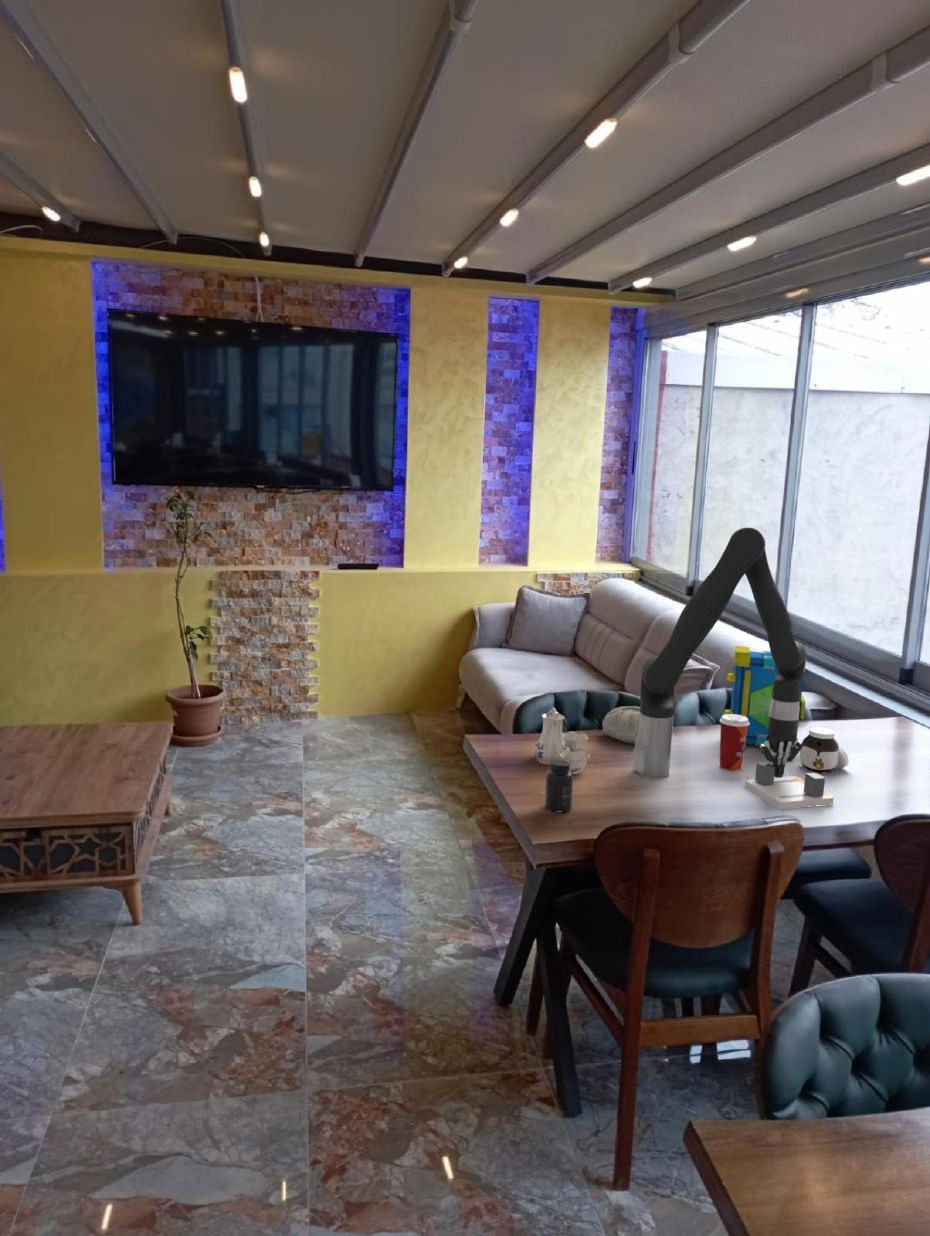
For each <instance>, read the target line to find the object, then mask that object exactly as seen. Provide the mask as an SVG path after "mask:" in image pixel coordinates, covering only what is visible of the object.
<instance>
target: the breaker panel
mask: <svg viewBox="0 0 930 1236" xmlns="http://www.w3.org/2000/svg"><path fill="white" fill-rule="evenodd" d="M804 783H805V780H804V779H802V778H800V777H799V776H796V775H795V776H794V775H793V776H783V777H782V778H776V777H774V783H773V785H762V784H761V783H759V782H758V781H756V780H755V778H752V779H745V780H744V788H745V789H747V790H748V791H750V792H752V793H754V794H755V795H756V796H758V797H760V798H761V799H762V800H764V801H766V802H767V803H769V804H770V805H772V806H773V807H775V808H776V809H778V810H779V811H780V810H789V809H792V810H793V809H799V808H798V807H804V808H809V807H808V806H815V807H817V806H816V805H827V806H831V805H830V804H833V805H834V799H835V797H833V796H832V795H830V794H828V793H826V792H825V791H824V793H823V796H820V797H812V796H811V795H809V794H807V793H805V792H804Z"/></svg>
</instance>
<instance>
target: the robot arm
mask: <svg viewBox="0 0 930 1236" xmlns="http://www.w3.org/2000/svg"><path fill="white" fill-rule="evenodd" d="M743 576H746V579H747V581H748V583H749V586H750V589H751V593H752V595H753V601H754V602H755V606H756V610H757V612H758V615H759V619H760V621H761V623H762V626H763V628H764V631H765V633H766V635H767V636H766V637H767V643H768V645H769V650H770V651H771V655H772V658H773V660H774V662H775V664H776V665H777V666H778V668H777V675H776V677H775V679H774V682H773V688H772V698H771V703H770V709H769V720H768V736H767V738H766V742H764V743H763V744H759V745H758V746H757V747H758V749H759V750H760V751H761V753H762V755H763V757H764V758H765V759H766V761H768V762H770V764H772V765H773V766H775V773H774V778H782V777H784V775H785V767H786V764H787V763H792V762H793V760H794V759H795V758H796V757H797V755H798V754H800V750H801V749H802V747H803V744H802V742H799V741H797V740H796V739H798V737H797V738H796V734H797V735H798V732H797V729H799V723H798V719H799V720H800V718H799V699H800V685H801V678H802V675H803V670H804V665H805V659H806V660H807V657H806V655H807V654H806V649H805V648H804V646H803V645H802V643H800V642H799V641H796V640H795V637H794V634H793V623H792V619H791V617H790V615H789V611H788V609H787V607H786V604H785V602H784V600H783V597H782V595H781V593H780V590H779V589H778V586H777V584H776V582H775V579H774V577H773V575H772V572H771V568H770V566H769V562H768V557H767V551H766V540H765V536H764V535H763V534H762V533H761V532H760V530H758V529H757V528H755V527H751V526H748V527H746V526H745V527H741V528H739V529H736V531H734V532H733V533H732V534H731V536H730V538H729V540H728V542H727V545H726V547H725V548H724V550H723V552H722V554H721V556H720V558H719V560H718V562H717V563H716V565H715V566H714V568H712V571H711V572H710V573H709V574H708V575H707V576H706V577H705V579H704V580H703V581H702V582H701V584H700V585H699V586H698V587H697V588H696V590H695V591H694V593H693V594H692V595H691V597H690V598H689V600H688V602H687V603H686V605H685V606H684V607H683V609H682V611H681V613H680V615H679V617H678V619H677V622H676V624H675V626H674V628H673V631H672V633H671V636H670V637H669V640H668V641H667V643H666V645H665V647H664V648H663V649H662V650H661V652H660V653H659V654H658V655H654V656H651V657H649V658H648V659H647V660H646V661H645V663H643V666H642V669H641V670H642V671H641V680H640V682H641V683H640V696H639V697H640V698H639V699H640V700H639V702H640V703H639V704H640V706H639V707H640V721H639V734H638V738H635V744H634V752H633V753H634V754H633V765H632V769H633V771H635V772H636V773H637V774H638V775H640V776H641V777H647V778H654V779H655V778H656V779H657V778H666V777H668V776H670V767H671V757H672V756H671V753H672V743H673V741H672V740H673V728H674V717H675V716H674V714H675V687H676V685H677V684H678V681H679V679H680V678H681V675H682V674H683V672H684V670H685V668H686V666H687V664H688V662H689V660H691V658H692V656H693V655H694V653H695V652H696V651H697V650H698V648H699V647H700V645H702V643H703V642H704V640H705V639H706V638H707V636H708V635H709V634H710V632H711V630H712V629H713V628H714V626H715V625H716V624H717V622H718V620H719V619H720V618H721V616H722V614H723V613H724V612H725V610H726V608H727V606H728V605H729V603H730V601H731V598H732V596H733V594H734V592H735V590H736V587H737V586H738V584H739V583H740V582H741V580H742V578H743ZM803 676H804V675H803Z"/></svg>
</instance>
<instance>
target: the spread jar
mask: <svg viewBox="0 0 930 1236" xmlns="http://www.w3.org/2000/svg"><path fill="white" fill-rule="evenodd" d="M808 730H809V731H808V735H807V736H806V737H804V738H803V740H801V741H802V742H801V744H803V747H802V749H801V750H800V751H799V761H800V765H802V766H803V768H805V769H806V770H807V771H810V772H812V771H813V772H812V773H816V772H817V774H827V773H830V772H832V771H834V770H835V769H837V768H838V769H840V770H841V769H844V768H846V767H848V765H849V757H848V754H847V753H846V751H845V750H844V749H843V748H842V747H841V746H839V743H838V742H837V740H836V738H835V731H834V730H832V729H829V728H825V727H817V726H814V727H810V728H809V729H808Z"/></svg>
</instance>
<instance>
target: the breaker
mask: <svg viewBox="0 0 930 1236" xmlns="http://www.w3.org/2000/svg"><path fill="white" fill-rule="evenodd" d="M804 776H805V777H804V781H805V783H804V792H805V793H807V794H809V795H811V796H812V797H820V796H823V793H824V792H825V791H824V790H825V783H826V777H824V776H822V775H821V774H820V773H816V772H808V773H805V775H804Z"/></svg>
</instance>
